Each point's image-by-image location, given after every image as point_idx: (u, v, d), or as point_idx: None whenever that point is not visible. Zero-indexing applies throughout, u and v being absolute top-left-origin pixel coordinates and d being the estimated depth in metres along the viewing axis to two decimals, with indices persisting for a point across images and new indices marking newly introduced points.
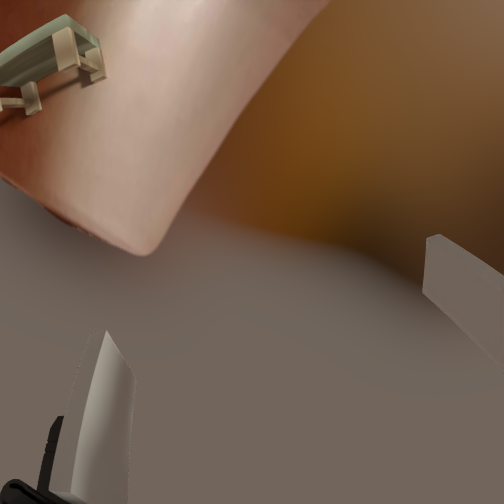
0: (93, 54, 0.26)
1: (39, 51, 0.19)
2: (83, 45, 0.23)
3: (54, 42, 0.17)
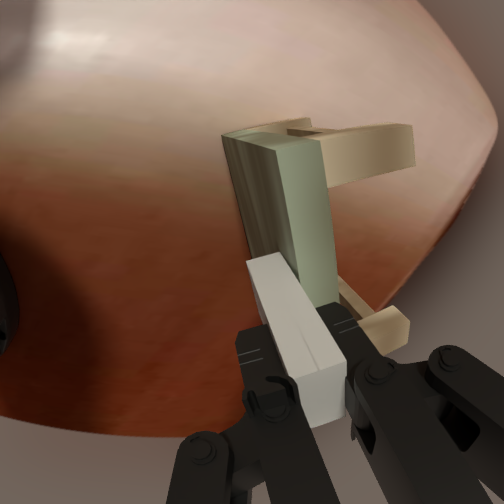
0: None
1: None
2: None
3: (351, 178, 0.10)
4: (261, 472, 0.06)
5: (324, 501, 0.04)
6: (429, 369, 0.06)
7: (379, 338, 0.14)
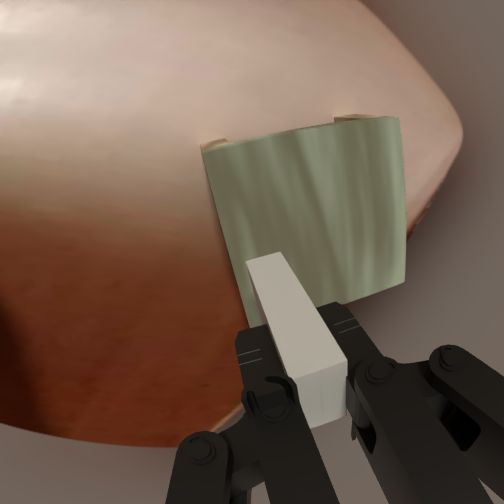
0: None
1: None
2: None
3: None
4: (261, 472, 0.06)
5: (323, 501, 0.04)
6: (429, 369, 0.06)
7: None
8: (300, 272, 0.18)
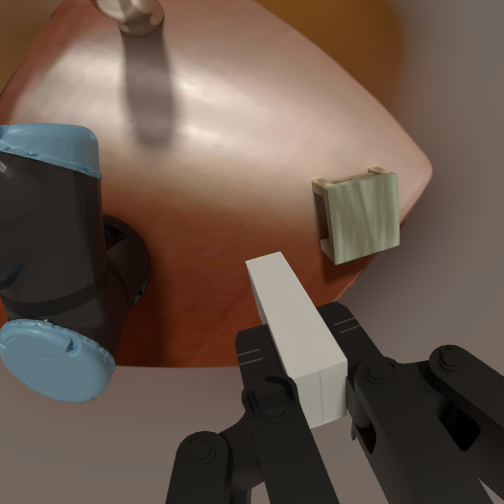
0: None
1: None
2: None
3: None
4: (261, 472, 0.06)
5: (323, 501, 0.04)
6: (430, 369, 0.06)
7: None
8: (356, 237, 0.41)
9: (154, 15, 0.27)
